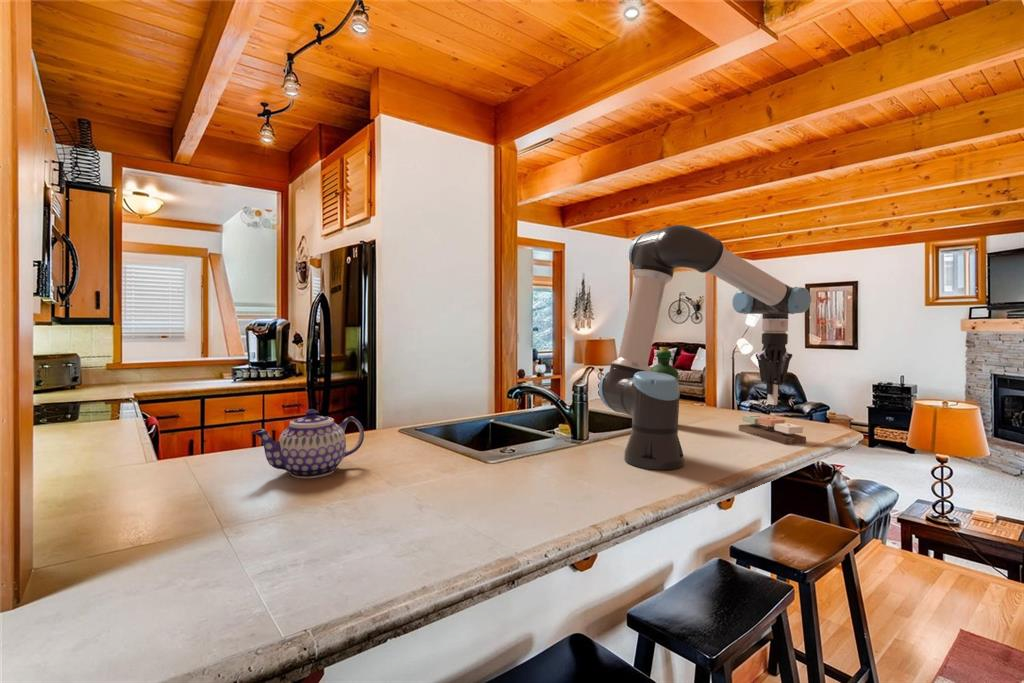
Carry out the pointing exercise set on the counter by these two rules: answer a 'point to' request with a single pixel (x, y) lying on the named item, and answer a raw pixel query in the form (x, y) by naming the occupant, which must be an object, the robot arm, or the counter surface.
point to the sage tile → (751, 419)
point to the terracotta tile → (770, 422)
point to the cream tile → (788, 428)
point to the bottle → (664, 363)
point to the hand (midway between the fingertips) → (772, 404)
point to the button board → (772, 434)
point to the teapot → (309, 445)
